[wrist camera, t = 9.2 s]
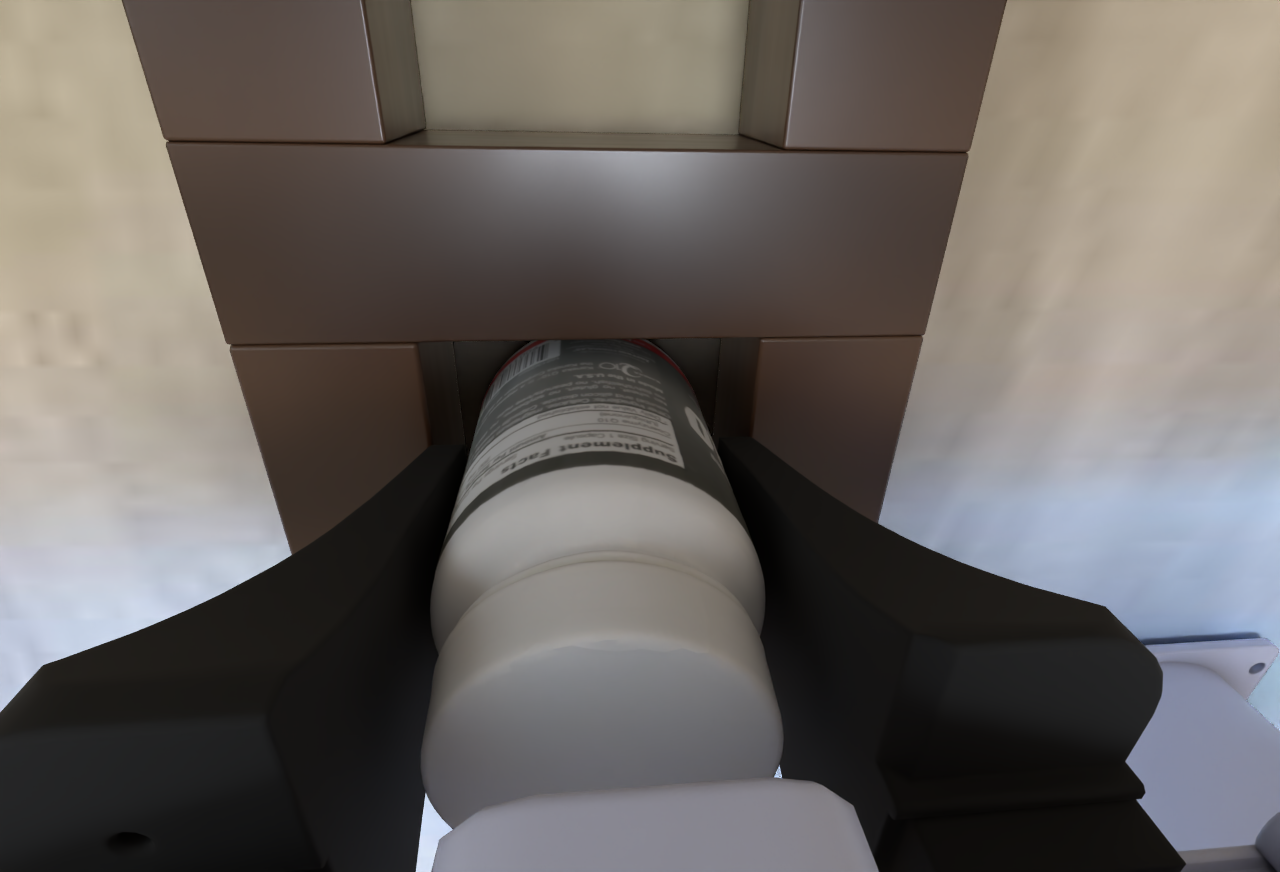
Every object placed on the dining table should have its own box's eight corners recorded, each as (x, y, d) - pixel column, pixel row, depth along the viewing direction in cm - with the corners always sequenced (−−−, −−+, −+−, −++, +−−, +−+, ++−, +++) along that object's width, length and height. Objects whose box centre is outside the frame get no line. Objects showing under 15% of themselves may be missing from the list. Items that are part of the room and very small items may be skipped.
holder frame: (802, 593, 18) (840, 679, 16) (372, 615, 17) (337, 711, 15) (1027, -607, 8) (1234, -914, 6) (47, -735, 7) (-244, -1186, 5)
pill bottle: (691, 504, 16) (797, 873, 8) (494, 514, 15) (425, 911, 8) (701, 315, 13) (857, 597, 6) (468, 322, 13) (340, 631, 6)
